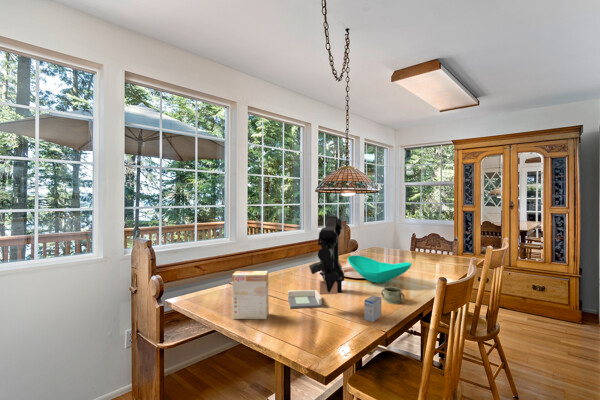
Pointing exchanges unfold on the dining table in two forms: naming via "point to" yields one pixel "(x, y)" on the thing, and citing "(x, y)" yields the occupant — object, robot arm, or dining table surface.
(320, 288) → the terracotta block
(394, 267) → the table top decor
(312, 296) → the tray
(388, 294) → the vessel
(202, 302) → the dining table surface
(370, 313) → the medicine box
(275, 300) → the dining table surface
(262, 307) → the coffeecake box
